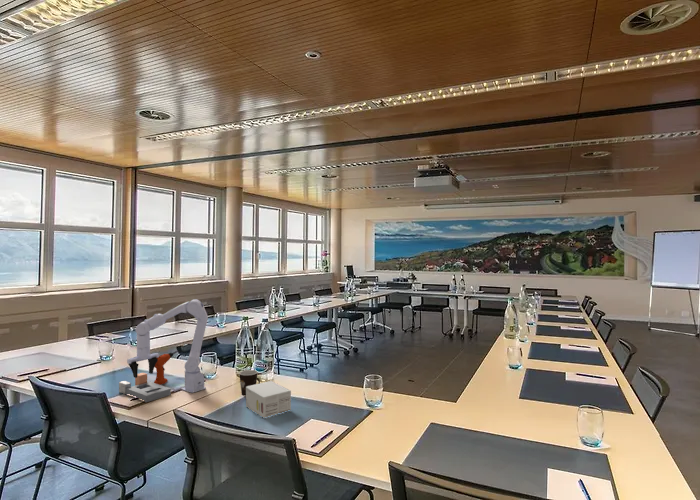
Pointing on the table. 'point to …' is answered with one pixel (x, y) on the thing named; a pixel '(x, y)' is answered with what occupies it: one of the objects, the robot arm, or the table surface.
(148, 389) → the socket board
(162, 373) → the toy drill
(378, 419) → the table surface
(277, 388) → the supplement box
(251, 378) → the coffee mug
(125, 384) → the light gray block
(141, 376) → the square peg
